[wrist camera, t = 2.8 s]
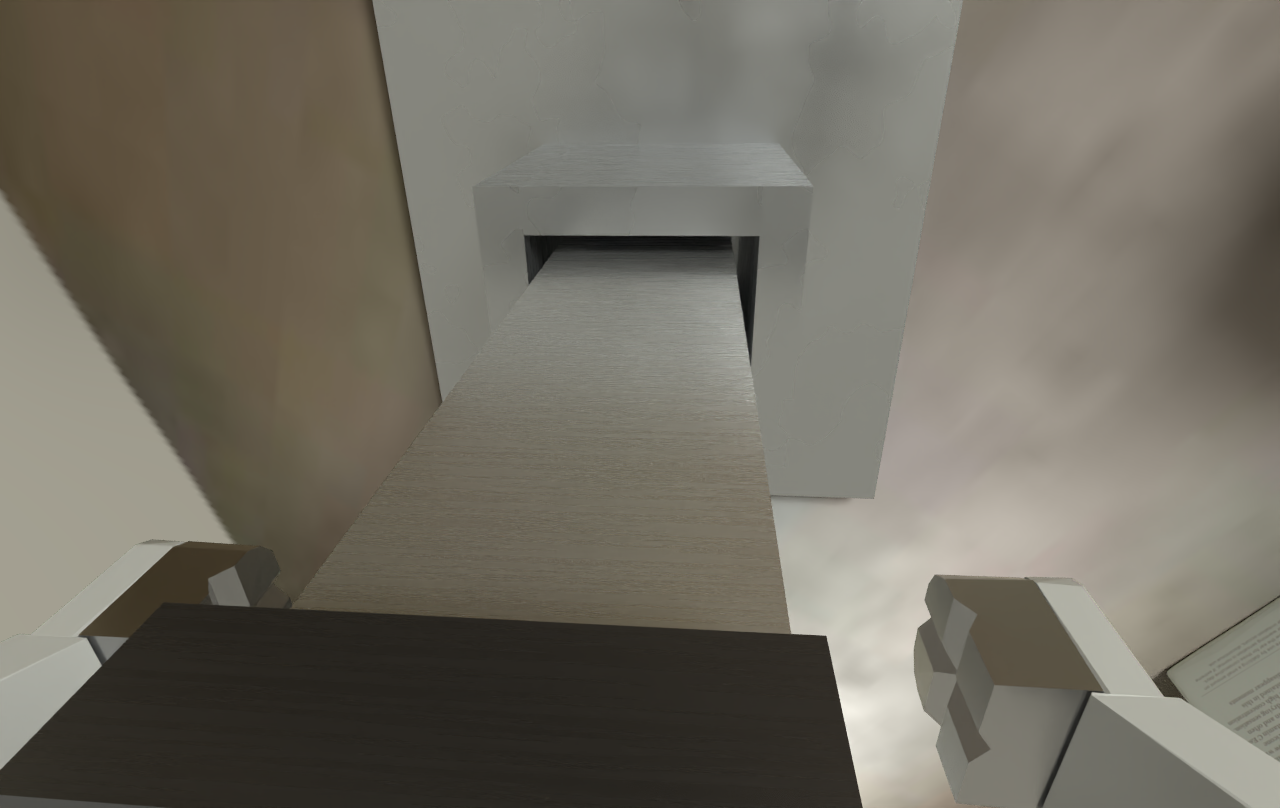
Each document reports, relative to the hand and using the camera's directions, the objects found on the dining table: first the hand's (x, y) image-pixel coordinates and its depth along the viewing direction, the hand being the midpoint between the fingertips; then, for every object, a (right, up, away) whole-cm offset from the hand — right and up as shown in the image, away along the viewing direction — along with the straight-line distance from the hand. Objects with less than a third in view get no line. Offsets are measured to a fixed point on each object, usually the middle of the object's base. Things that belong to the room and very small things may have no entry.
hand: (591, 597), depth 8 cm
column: (+1, +7, +13) cm, 15 cm away
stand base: (+1, +8, +14) cm, 16 cm away
